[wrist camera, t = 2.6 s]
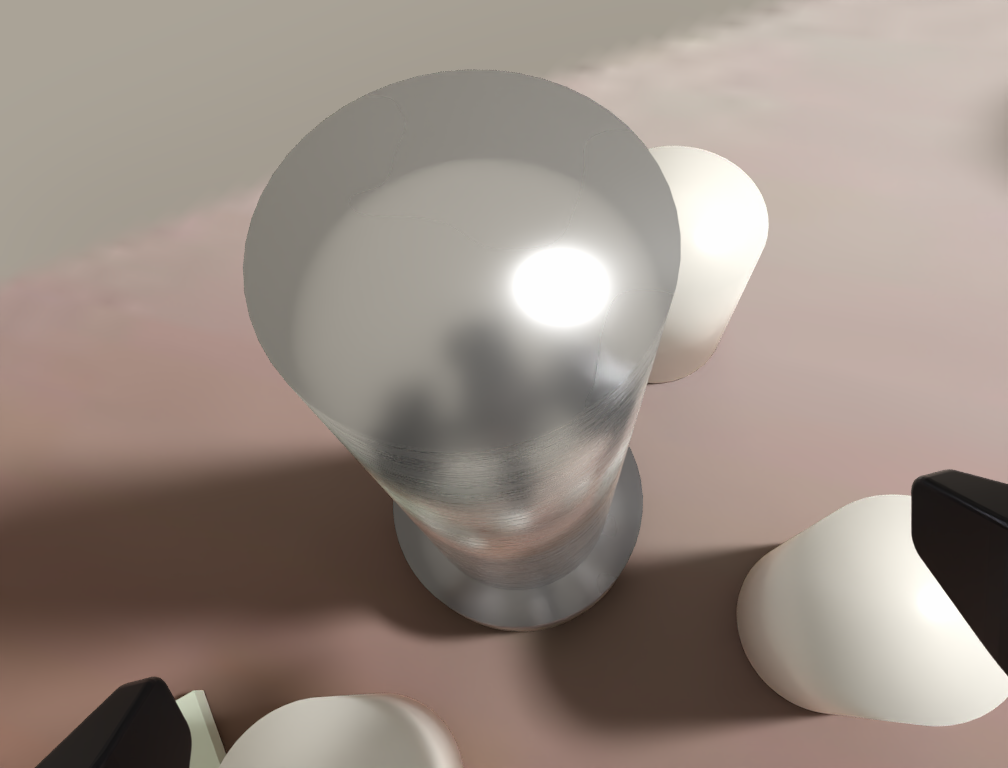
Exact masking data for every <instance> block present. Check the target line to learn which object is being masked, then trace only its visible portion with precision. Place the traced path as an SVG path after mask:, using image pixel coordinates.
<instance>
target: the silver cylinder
mask: <svg viewBox="0 0 1008 768" xmlns="http://www.w3.org/2000/svg"><path fill="white" fill-rule="evenodd" d="M680 261H681V234H680V227H679V221H678V214H677V209H676V206H675V203H674V200H673V196H672V193H671V190H670V187H669V185H668V183H667V181H666V179H665V177H664V175H663V173H662V171H661V169H660V167H659V165H658V163H657V162H656V160H655V159H654V157H653V156H652V154H651V153H650V151H649V150H648V149H647V147H646V146H645V144H644V143H643V142H642V141H641V140H640V139H639V138H638V137H637V136H636V135H635V133H634V132H633V131H632V130H631V129H630V128H629V127H628V126H627V125H626V124H625V123H623V122H622V121H621V120H620V119H619V118H617V117H616V116H615V115H614V114H613V113H611V112H610V111H609V110H607V109H606V108H604V107H603V106H601V105H599V104H598V103H596V102H595V101H593V100H592V99H590V98H588V97H586V96H584V95H582V94H580V93H578V92H576V91H574V90H572V89H570V88H568V87H565V86H562V85H559V84H557V83H554V82H551V81H548V80H545V79H542V78H538V77H533V76H529V75H524V74H520V73H513V72H505V71H497V70H457V71H446V72H438V73H433V74H427V75H422V76H417V77H413V78H410V79H407V80H403V81H400V82H396V83H393V84H390V85H388V86H385V87H383V88H380V89H378V90H375V91H373V92H371V93H368V94H366V95H364V96H362V97H360V98H359V99H357V100H355V101H353V102H351V103H349V104H348V105H346V106H344V107H342V108H341V109H339V110H338V111H336V112H335V113H334V114H332V115H331V116H329V117H328V118H326V119H325V120H323V121H322V122H321V123H320V124H319V125H318V126H316V127H315V128H314V129H313V130H312V131H310V132H309V133H308V134H307V135H306V136H305V137H304V138H303V139H302V140H301V141H300V142H299V143H298V144H297V145H296V146H295V147H294V148H293V149H292V150H291V152H290V153H289V154H288V155H287V156H286V157H285V159H284V160H283V161H282V163H281V164H280V165H279V167H278V168H277V170H276V171H275V172H274V174H273V175H272V177H271V179H270V180H269V182H268V184H267V186H266V188H265V189H264V191H263V193H262V195H261V196H260V199H259V201H258V204H257V206H256V209H255V211H254V214H253V217H252V219H251V223H250V227H249V231H248V235H247V239H246V243H245V253H244V263H243V275H244V293H245V298H246V302H247V307H248V312H249V317H250V319H251V322H252V325H253V327H254V330H255V333H256V335H257V338H258V340H259V342H260V344H261V346H262V348H263V349H264V351H265V353H266V355H267V356H268V358H269V360H270V362H271V363H272V364H273V366H274V367H275V368H276V370H277V371H278V372H279V373H280V375H281V376H282V377H283V378H284V380H285V381H286V382H287V383H288V385H289V386H290V387H291V388H292V389H293V390H294V391H295V392H296V393H297V394H298V396H299V397H300V398H301V399H302V400H303V401H304V402H305V403H306V404H307V405H308V407H309V408H310V409H311V410H312V411H313V412H314V413H315V414H316V415H317V416H318V418H319V419H320V420H321V421H322V422H323V423H324V424H325V425H326V426H327V427H328V428H329V430H330V431H331V432H332V433H333V434H334V435H335V436H336V437H337V438H338V439H339V441H340V442H341V443H342V444H343V445H344V446H345V447H346V448H347V449H348V450H349V452H350V453H351V454H352V455H353V456H354V457H355V458H356V459H357V460H358V461H359V463H360V464H361V465H362V466H363V467H364V468H365V469H366V470H367V471H368V472H369V473H370V475H371V476H372V477H373V478H374V479H375V480H376V481H377V482H378V483H379V484H380V486H381V487H382V488H383V489H384V490H385V491H386V492H387V493H388V494H389V495H390V497H391V498H392V499H393V515H394V523H395V529H396V533H397V537H398V541H399V544H400V546H401V549H402V551H403V554H404V556H405V558H406V560H407V562H408V564H409V565H410V567H411V569H412V571H413V572H414V574H415V575H416V576H417V577H418V579H419V580H420V581H421V583H422V584H423V585H424V586H425V587H426V588H427V589H428V590H429V591H430V592H431V593H432V594H433V595H434V596H435V597H436V598H437V599H439V600H440V601H441V602H443V603H444V604H446V605H447V606H448V607H450V608H451V609H453V610H454V611H456V612H457V613H459V614H460V615H462V616H464V617H466V618H468V619H469V620H471V621H473V622H476V623H478V624H481V625H484V626H486V627H490V628H494V629H499V630H504V631H515V632H524V631H537V630H542V629H547V628H551V627H554V626H557V625H560V624H563V623H566V622H568V621H570V620H572V619H574V618H576V617H578V616H580V615H581V614H582V613H584V612H585V611H587V610H588V609H590V608H591V607H593V606H594V605H595V604H596V603H597V602H598V601H599V600H600V599H601V598H602V597H603V596H604V595H605V594H606V593H607V592H608V591H609V589H610V588H611V587H612V586H613V585H614V583H615V581H616V580H617V578H618V577H619V575H620V574H621V572H622V570H623V569H624V567H625V565H626V563H627V562H628V560H629V558H630V555H631V553H632V551H633V549H634V547H635V544H636V541H637V537H638V534H639V530H640V525H641V519H642V506H643V495H642V486H641V479H640V475H639V471H638V467H637V464H636V461H635V459H634V456H633V454H632V451H631V449H630V447H629V443H630V439H631V436H632V433H633V429H634V426H635V423H636V419H637V416H638V413H639V409H640V406H641V403H642V399H643V396H644V393H645V389H646V386H647V383H648V379H649V376H650V373H651V369H652V366H653V363H654V359H655V356H656V353H657V349H658V346H659V343H660V339H661V336H662V333H663V329H664V326H665V323H666V319H667V316H668V313H669V309H670V306H671V303H672V299H673V296H674V293H675V289H676V286H677V280H678V273H679V267H680Z"/></svg>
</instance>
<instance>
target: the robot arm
mask: <svg viewBox="0 0 1008 768" xmlns="http://www.w3.org/2000/svg"><path fill="white" fill-rule="evenodd" d="M911 536H912V541H913V544H914V547H915V549H916V551H917V553H918V555H919V556H920V558H921V559H922V561H923V562H924V564H925V565H926V566H927V568H928V569H929V570H930V572H931V573H932V575H933V576H934V577H935V579H936V580H937V582H938V583H939V584H940V586H941V587H942V589H943V590H944V591H945V593H946V594H947V596H948V597H949V598H950V600H951V601H952V603H953V604H954V605H955V607H956V608H957V610H958V611H959V612H960V614H961V615H962V616H963V618H964V619H965V621H966V622H967V623H968V625H969V626H970V628H971V629H972V630H973V632H974V633H975V635H976V636H977V637H978V639H979V640H980V642H981V643H982V644H983V646H984V647H985V648H986V650H987V651H988V652H989V654H990V655H991V656H992V658H993V659H994V660H995V661H996V663H997V664H998V665H999V666H1000V668H1001V669H1002V670H1003V671H1004V672H1005V674H1006V675H1007V676H1008V484H1005V483H1002V482H998V481H994V480H990V479H986V478H983V477H979V476H975V475H971V474H967V473H964V472H960V471H956V470H942V471H938V472H935V473H931V474H927V475H923V476H920V477H918V478H917V479H915V481H914V482H913V484H912V489H911ZM191 751H192V737H191V732H190V728H189V725H188V723H187V721H186V719H185V717H184V716H183V714H182V712H181V710H180V708H179V706H178V705H177V703H176V701H175V699H174V697H173V695H172V693H171V692H170V690H169V688H168V686H167V685H166V683H165V682H164V681H163V680H162V679H161V678H159V677H149V678H146V679H142V680H138V681H134V682H130V683H127V684H124V685H122V686H120V687H119V688H118V689H116V690H115V691H114V692H113V693H112V694H111V695H110V696H109V697H108V698H107V699H106V700H105V701H104V702H103V703H102V704H101V705H100V706H99V707H98V708H97V709H96V710H95V711H94V712H92V713H91V714H90V715H89V716H88V717H87V718H86V719H85V720H84V721H83V722H82V723H81V724H80V725H79V726H78V727H77V728H76V729H75V730H74V731H73V732H72V733H71V734H70V735H68V736H67V737H66V738H65V739H64V740H63V741H62V742H61V743H60V744H59V745H58V746H57V747H56V748H55V749H54V750H53V751H52V752H51V753H50V754H49V755H48V756H47V757H46V758H44V759H43V760H42V761H41V762H40V763H39V764H38V765H37V766H36V767H35V768H190V759H191Z"/></svg>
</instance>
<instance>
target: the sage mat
mask: <svg viewBox="0 0 1008 768" xmlns="http://www.w3.org/2000/svg"><path fill="white" fill-rule="evenodd" d="M176 703H177V705H178V706H179V708H180V710H181V712H182V714H183V716H184V717H185V719H186V721H187V723H188V725H189V728H190V732H191V737H192V751H191V759H190V768H219V766H220V764H221V763H222V761H223V759H224V758H225V756H226V753H225V750H224V747H223V744H222V741H221V739H220V736H219V733H218V730H217V727H216V725H215V722H214V719H213V716H212V713H211V711H210V708H209V705H208V702H207V699H206V697H205V694H204V691H203V690H194V691H192V692H190V693H188V694H187V695H185V696H183V697H181V698H180V699H178V700H176Z"/></svg>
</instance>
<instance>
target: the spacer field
mask: <svg viewBox="0 0 1008 768" xmlns="http://www.w3.org/2000/svg"><path fill="white" fill-rule="evenodd" d="M648 150H649V151H650V153H651V154H652V156H653V157H654V159H655V160H656V162H657V163H658V165H659V167H660V169H661V171H662V173H663V175H664V177H665V179H666V181H667V183H668V185H669V187H670V190H671V193H672V196H673V200H674V203H675V206H676V209H677V214H678V221H679V227H680V234H681V261H680V267H679V273H678V280H677V286H676V289H675V293H674V296H673V299H672V303H671V306H670V309H669V313H668V316H667V319H666V323H665V326H664V329H663V333H662V336H661V339H660V343H659V346H658V349H657V353H656V356H655V359H654V363H653V366H652V369H651V373H650V376H649V379H648V383H665V382H671V381H675V380H678V379H681V378H684V377H686V376H688V375H690V374H692V373H693V372H695V371H697V370H698V369H699V368H700V367H702V366H703V365H704V364H705V363H706V362H707V361H708V360H709V359H710V357H711V356H712V354H713V353H714V351H715V350H716V348H717V346H718V344H719V341H720V339H721V337H722V335H723V333H724V331H725V329H726V327H727V325H728V322H729V320H730V318H731V316H732V314H733V312H734V310H735V308H736V306H737V303H738V301H739V299H740V297H741V295H742V293H743V291H744V289H745V287H746V285H747V282H748V280H749V278H750V276H751V274H752V272H753V270H754V268H755V266H756V263H757V261H758V259H759V257H760V255H761V253H762V251H763V248H764V246H765V243H766V239H767V235H768V214H767V209H766V205H765V202H764V200H763V197H762V195H761V193H760V191H759V190H758V188H757V186H756V185H755V184H754V182H753V181H752V180H751V179H750V177H749V176H748V175H747V174H746V173H745V172H744V171H742V170H741V169H740V168H739V167H738V166H736V165H735V164H733V163H732V162H730V161H729V160H727V159H725V158H723V157H721V156H719V155H717V154H715V153H712V152H709V151H706V150H702V149H698V148H694V147H686V146H662V147H656V148H650V149H648ZM737 626H738V633H739V637H740V640H741V644H742V647H743V649H744V651H745V654H746V656H747V658H748V660H749V661H750V663H751V665H752V667H753V668H754V669H755V671H756V672H757V674H758V675H759V676H760V677H761V679H762V680H763V681H764V682H765V683H766V684H767V685H768V686H769V687H770V688H771V689H773V690H774V691H775V692H776V693H777V694H779V695H780V696H782V697H783V698H785V699H786V700H787V701H789V702H791V703H793V704H795V705H797V706H799V707H802V708H805V709H808V710H811V711H815V712H819V713H826V714H834V715H842V716H850V717H858V718H866V719H875V720H883V721H891V722H899V723H907V724H915V725H925V726H950V725H955V724H961V723H965V722H968V721H971V720H974V719H977V718H979V717H981V716H983V715H985V714H987V713H988V712H990V711H992V710H993V709H994V708H996V707H997V706H998V705H1000V704H1001V703H1002V702H1003V701H1004V700H1005V699H1006V698H1007V697H1008V676H1007V675H1006V674H1005V672H1004V671H1003V670H1002V669H1001V668H1000V666H999V665H998V664H997V663H996V661H995V660H994V659H993V658H992V656H991V655H990V654H989V652H988V651H987V650H986V648H985V647H984V646H983V644H982V643H981V642H980V640H979V639H978V637H977V636H976V635H975V633H974V632H973V630H972V629H971V628H970V626H969V625H968V623H967V622H966V621H965V619H964V618H963V616H962V615H961V614H960V612H959V611H958V610H957V608H956V607H955V605H954V604H953V603H952V601H951V600H950V598H949V597H948V596H947V594H946V593H945V591H944V590H943V589H942V587H941V586H940V584H939V583H938V582H937V580H936V579H935V577H934V576H933V575H932V573H931V572H930V570H929V569H928V568H927V566H926V565H925V564H924V562H923V561H922V559H921V558H920V556H919V555H918V553H917V551H916V549H915V547H914V544H913V541H912V536H911V496H908V495H894V494H892V495H878V496H873V497H867V498H864V499H861V500H858V501H855V502H852V503H850V504H848V505H846V506H844V507H842V508H840V509H839V510H837V511H835V512H834V513H832V514H830V515H829V516H827V517H826V518H824V519H822V520H821V521H819V522H817V523H816V524H814V525H812V526H811V527H809V528H808V529H806V530H804V531H803V532H801V533H799V534H798V535H796V536H794V537H793V538H791V539H790V540H788V541H786V542H785V543H783V544H781V545H780V546H778V547H776V548H775V549H773V550H772V551H770V552H769V553H767V554H766V555H764V556H763V557H762V558H761V559H760V560H759V561H758V562H757V563H755V565H754V566H753V567H752V569H751V570H750V571H749V573H748V574H747V576H746V578H745V580H744V582H743V584H742V587H741V589H740V593H739V597H738V602H737ZM219 768H464V767H463V762H462V758H461V754H460V751H459V748H458V745H457V743H456V740H455V739H454V737H453V735H452V733H451V731H450V730H449V728H448V727H447V726H446V724H445V723H444V721H443V720H442V719H441V718H440V717H439V716H438V715H437V714H436V713H435V712H434V711H433V710H431V709H430V708H429V707H428V706H426V705H424V704H423V703H421V702H419V701H418V700H415V699H413V698H410V697H408V696H404V695H400V694H394V693H373V694H359V695H344V696H330V697H315V698H309V699H303V700H298V701H295V702H293V703H290V704H287V705H284V706H282V707H280V708H278V709H276V710H274V711H272V712H270V713H269V714H267V715H266V716H264V717H263V718H261V719H260V720H258V721H257V722H256V723H255V724H253V725H252V726H251V727H250V728H249V729H248V730H246V732H245V733H244V734H243V735H242V736H241V737H240V738H239V739H238V740H237V741H236V742H235V744H234V745H233V746H232V748H231V749H230V750H229V752H228V753H227V754H226V756H225V758H224V759H223V761H222V763H221V764H220V766H219Z"/></svg>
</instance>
